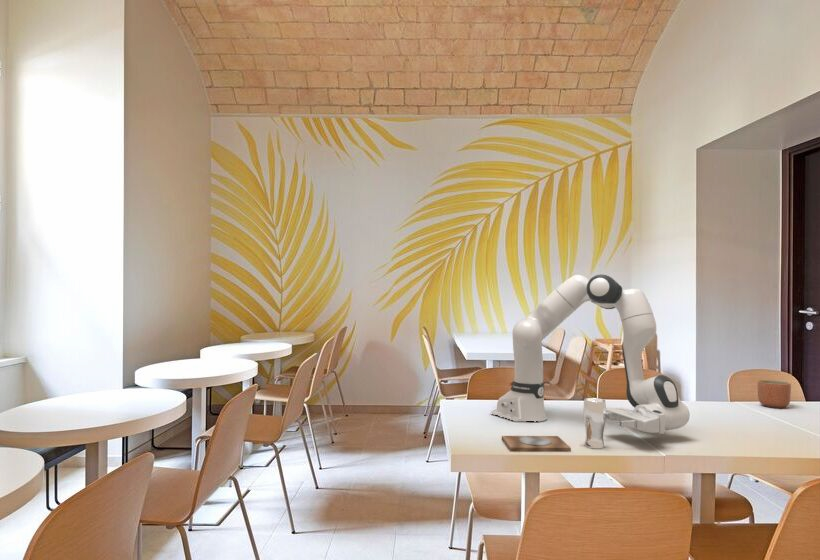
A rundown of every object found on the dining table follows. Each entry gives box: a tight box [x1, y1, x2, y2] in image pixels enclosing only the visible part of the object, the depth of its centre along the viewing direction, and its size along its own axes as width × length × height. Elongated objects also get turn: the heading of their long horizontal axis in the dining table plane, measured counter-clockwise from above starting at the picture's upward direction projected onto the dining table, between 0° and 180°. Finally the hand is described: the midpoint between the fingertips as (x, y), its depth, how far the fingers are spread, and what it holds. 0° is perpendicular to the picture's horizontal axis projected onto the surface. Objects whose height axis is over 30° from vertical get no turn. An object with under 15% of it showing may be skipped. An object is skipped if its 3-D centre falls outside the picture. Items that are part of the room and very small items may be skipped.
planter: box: [757, 379, 792, 409], centre depth 248 cm, size 12×12×11 cm
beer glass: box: [582, 397, 607, 450], centre depth 181 cm, size 7×7×15 cm
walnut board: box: [501, 435, 572, 453], centre depth 182 cm, size 19×14×2 cm
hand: (610, 420), depth 183 cm, fingers open, 8 cm apart
